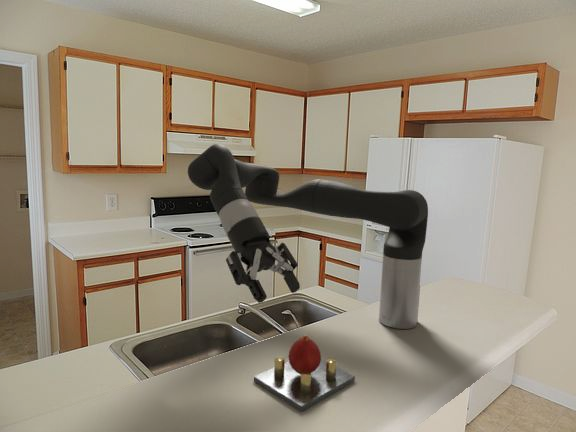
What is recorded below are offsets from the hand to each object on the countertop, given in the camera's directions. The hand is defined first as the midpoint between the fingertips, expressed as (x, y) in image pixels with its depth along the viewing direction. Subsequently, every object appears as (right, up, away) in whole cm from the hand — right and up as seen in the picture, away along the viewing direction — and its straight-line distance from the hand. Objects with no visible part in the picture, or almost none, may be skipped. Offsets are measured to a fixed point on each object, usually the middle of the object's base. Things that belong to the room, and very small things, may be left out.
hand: (280, 295), depth 77 cm
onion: (+4, -14, -2) cm, 15 cm away
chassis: (+5, -15, -2) cm, 16 cm away
